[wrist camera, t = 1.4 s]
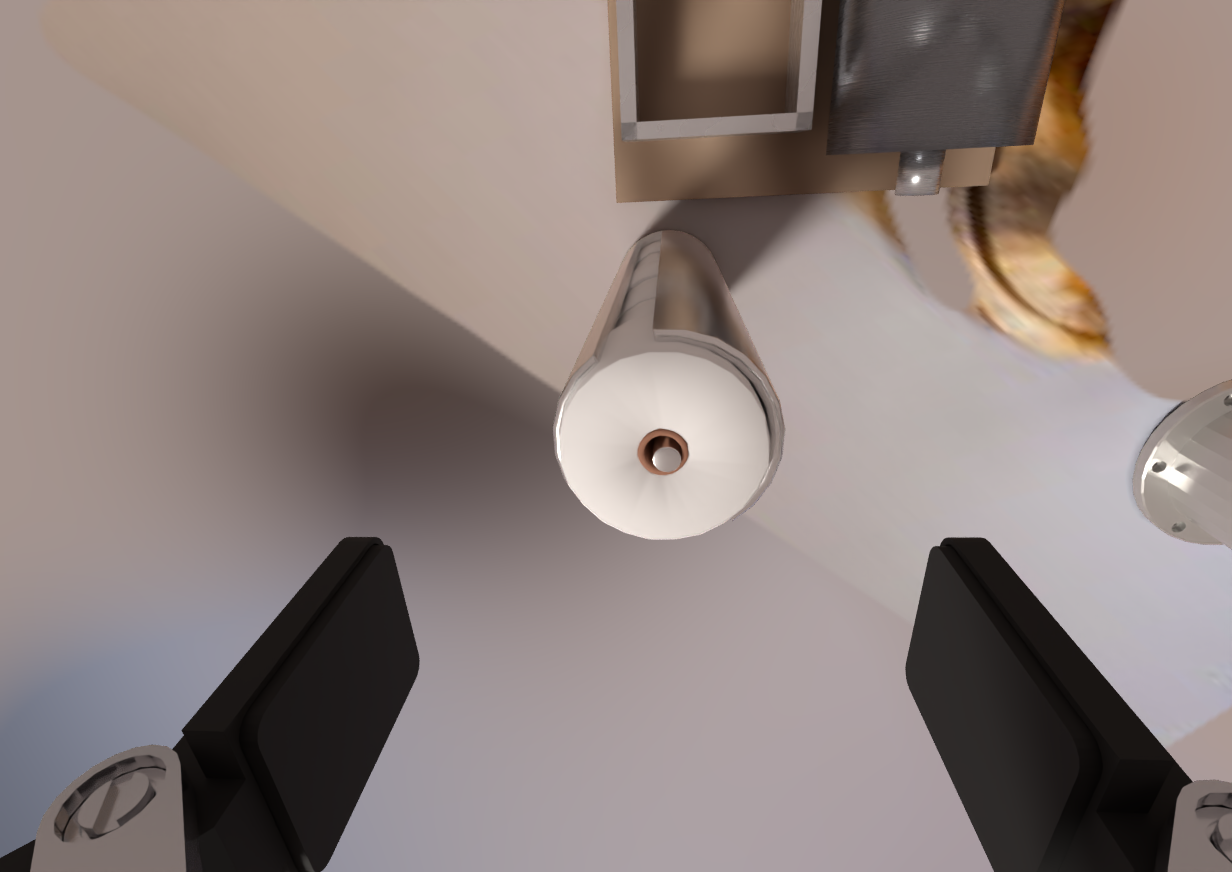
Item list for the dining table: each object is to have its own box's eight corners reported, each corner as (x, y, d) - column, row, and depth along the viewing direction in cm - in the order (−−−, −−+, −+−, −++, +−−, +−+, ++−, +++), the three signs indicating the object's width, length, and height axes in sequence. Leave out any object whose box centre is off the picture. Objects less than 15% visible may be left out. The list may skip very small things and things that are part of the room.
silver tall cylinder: (612, 325, 40) (538, 543, 17) (624, 223, 37) (553, 323, 14) (709, 337, 39) (763, 575, 17) (727, 236, 37) (821, 358, 14)
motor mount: (1049, -187, 28) (1297, -413, 17) (978, 184, 34) (1122, 196, 23) (603, -142, 30) (564, -317, 19) (618, 201, 36) (596, 219, 25)
